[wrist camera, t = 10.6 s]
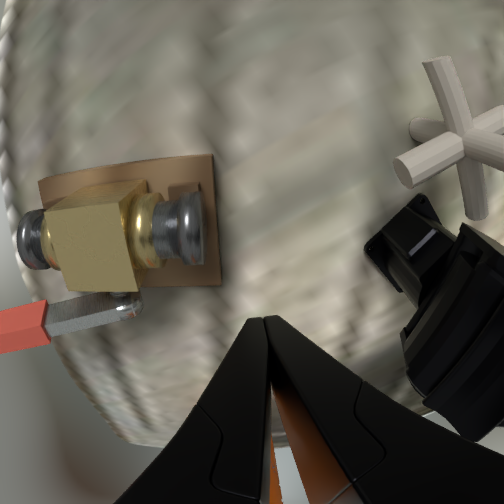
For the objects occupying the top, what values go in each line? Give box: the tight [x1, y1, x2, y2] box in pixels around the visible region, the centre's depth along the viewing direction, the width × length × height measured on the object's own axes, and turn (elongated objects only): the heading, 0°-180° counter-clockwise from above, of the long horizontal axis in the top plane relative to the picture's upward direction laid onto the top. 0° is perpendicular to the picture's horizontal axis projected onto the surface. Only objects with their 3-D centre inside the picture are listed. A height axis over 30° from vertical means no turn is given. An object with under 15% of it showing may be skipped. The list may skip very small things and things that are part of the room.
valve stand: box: [17, 154, 222, 298], centre depth 16 cm, size 13×9×6 cm
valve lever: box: [0, 290, 144, 354], centre depth 16 cm, size 3×2×13 cm
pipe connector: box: [393, 56, 504, 221], centre depth 12 cm, size 10×10×10 cm
